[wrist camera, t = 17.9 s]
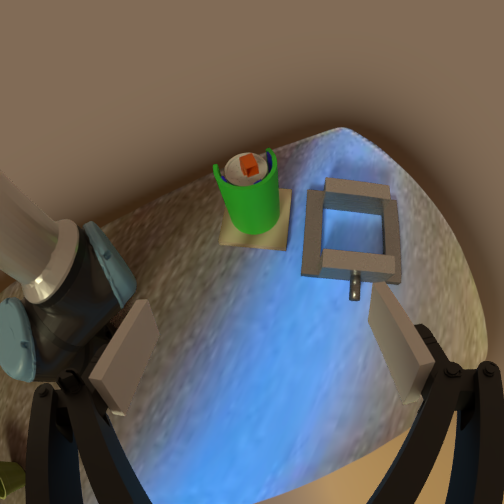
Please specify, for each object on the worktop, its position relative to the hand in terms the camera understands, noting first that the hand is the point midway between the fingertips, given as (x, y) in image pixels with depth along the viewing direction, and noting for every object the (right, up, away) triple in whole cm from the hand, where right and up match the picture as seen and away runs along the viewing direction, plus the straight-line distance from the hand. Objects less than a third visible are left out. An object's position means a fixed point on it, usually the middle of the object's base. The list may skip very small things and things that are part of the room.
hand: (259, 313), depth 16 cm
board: (0, +10, +38) cm, 39 cm away
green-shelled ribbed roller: (0, +10, +36) cm, 38 cm away
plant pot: (-62, -56, +20) cm, 86 cm away
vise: (+18, +4, +34) cm, 38 cm away
